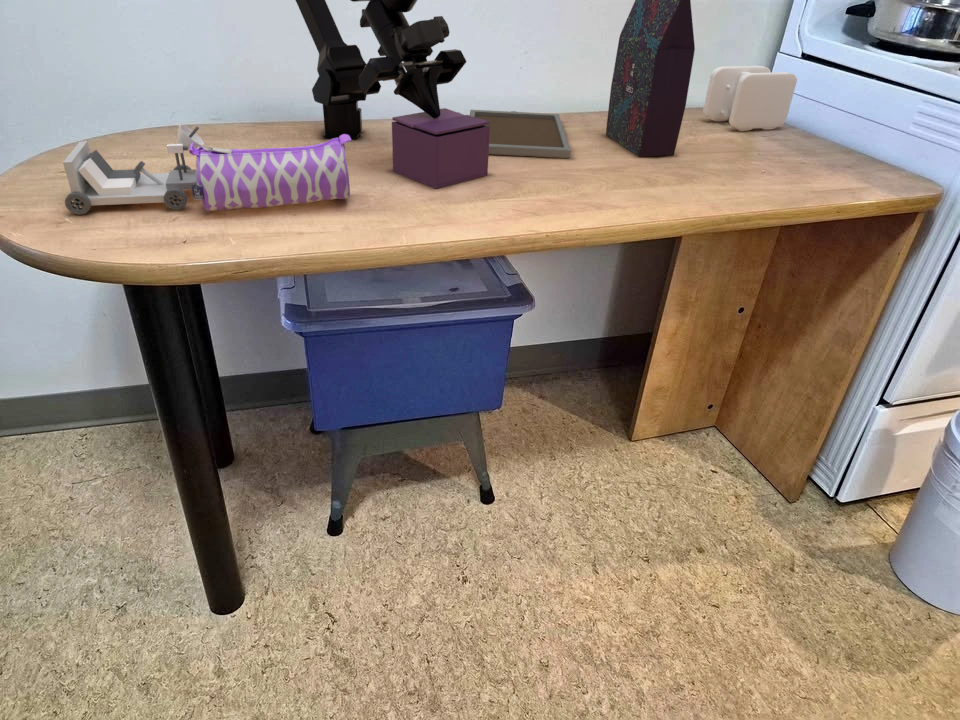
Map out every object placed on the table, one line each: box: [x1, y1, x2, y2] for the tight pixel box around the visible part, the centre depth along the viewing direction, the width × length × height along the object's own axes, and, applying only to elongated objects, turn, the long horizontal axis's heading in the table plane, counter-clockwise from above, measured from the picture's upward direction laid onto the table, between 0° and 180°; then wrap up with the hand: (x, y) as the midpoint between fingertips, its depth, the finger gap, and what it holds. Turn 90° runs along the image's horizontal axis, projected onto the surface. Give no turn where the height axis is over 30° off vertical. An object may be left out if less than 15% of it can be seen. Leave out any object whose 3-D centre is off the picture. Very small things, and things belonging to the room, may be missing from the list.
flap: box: [391, 107, 465, 128], centre depth 112 cm, size 5×11×1 cm, turn 134°
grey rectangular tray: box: [469, 109, 571, 159], centre depth 137 cm, size 19×2×30 cm
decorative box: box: [605, 0, 696, 158], centre depth 128 cm, size 8×16×28 cm, turn 16°
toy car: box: [62, 123, 205, 216], centre depth 97 cm, size 18×10×12 cm
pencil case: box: [188, 134, 352, 212], centre depth 98 cm, size 22×9×10 cm, turn 111°
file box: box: [391, 114, 490, 190], centre depth 113 cm, size 11×12×9 cm
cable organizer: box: [702, 65, 798, 132], centre depth 150 cm, size 15×11×12 cm
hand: (437, 116), depth 111 cm, fingers closed
